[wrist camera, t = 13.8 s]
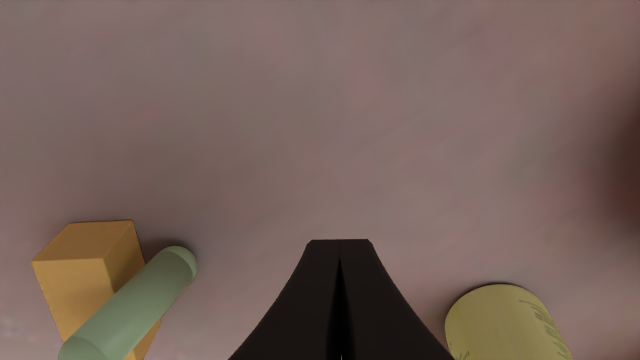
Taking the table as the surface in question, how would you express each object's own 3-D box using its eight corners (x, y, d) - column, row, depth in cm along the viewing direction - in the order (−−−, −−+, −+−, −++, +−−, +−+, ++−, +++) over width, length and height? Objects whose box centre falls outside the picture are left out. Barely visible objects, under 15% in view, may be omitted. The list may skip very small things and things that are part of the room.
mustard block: (104, 324, 24) (74, 370, 21) (68, 222, 21) (29, 261, 18) (162, 321, 23) (139, 369, 21) (132, 219, 21) (102, 258, 18)
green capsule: (62, 331, 20) (75, 409, 16) (40, 296, 19) (49, 370, 15) (194, 265, 22) (233, 319, 18) (181, 231, 21) (219, 280, 18)
